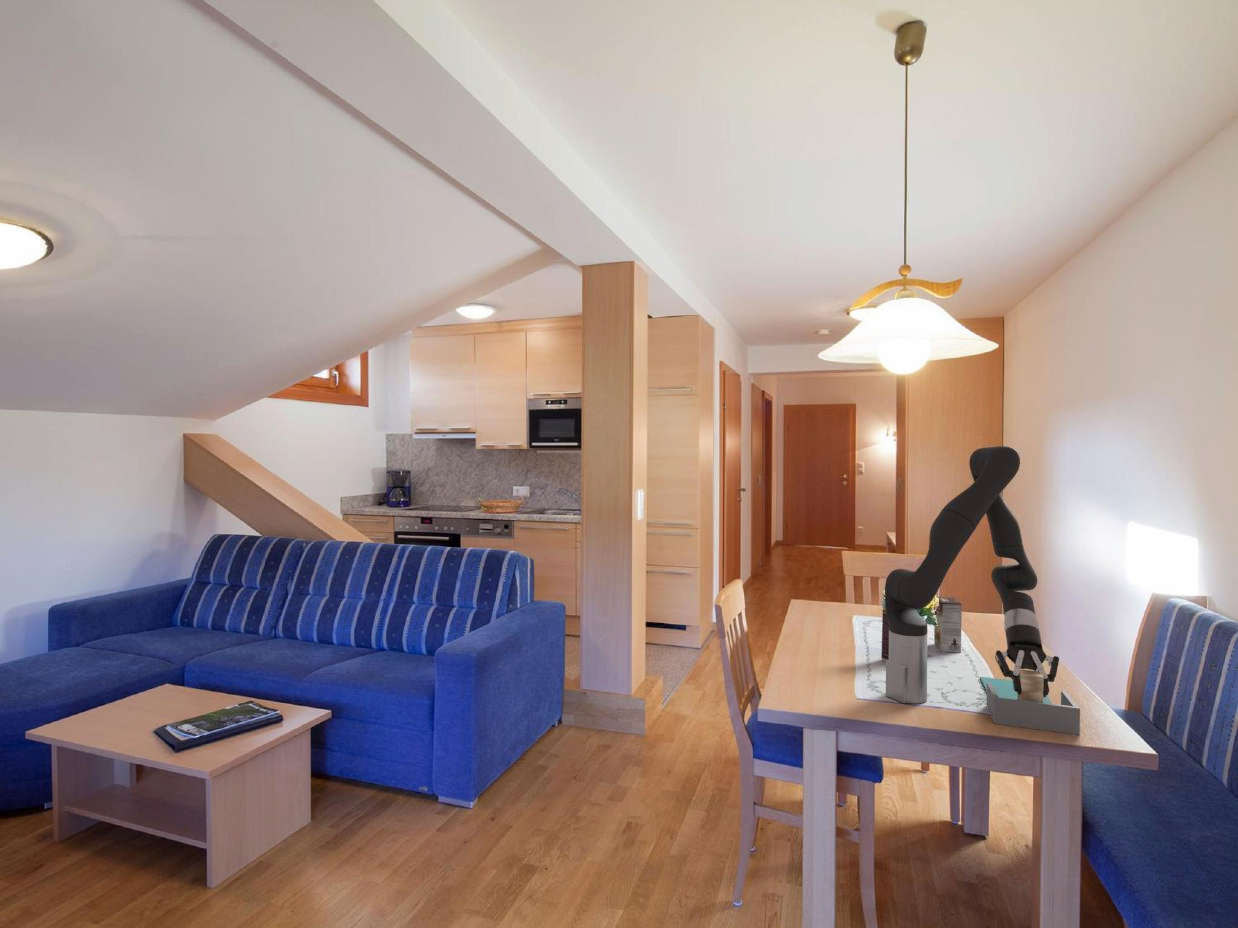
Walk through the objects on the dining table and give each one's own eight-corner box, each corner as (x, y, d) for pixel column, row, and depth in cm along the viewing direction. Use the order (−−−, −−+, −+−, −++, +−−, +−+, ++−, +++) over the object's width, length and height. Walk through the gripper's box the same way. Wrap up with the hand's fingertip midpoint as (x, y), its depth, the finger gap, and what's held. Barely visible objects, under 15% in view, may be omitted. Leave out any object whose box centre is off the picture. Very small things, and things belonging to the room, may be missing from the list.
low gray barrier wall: (994, 723, 155) (994, 698, 155) (986, 705, 166) (986, 682, 166) (1079, 734, 149) (1080, 708, 149) (1065, 715, 160) (1065, 690, 160)
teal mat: (990, 700, 170) (990, 698, 170) (980, 678, 187) (980, 676, 187) (1053, 708, 165) (1053, 705, 165) (1037, 685, 182) (1037, 682, 182)
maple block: (1021, 708, 157) (1021, 674, 157) (1017, 701, 161) (1017, 669, 161) (1043, 710, 155) (1043, 677, 155) (1038, 704, 159) (1039, 671, 159)
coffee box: (933, 643, 222) (933, 596, 222) (953, 644, 221) (954, 597, 220) (940, 651, 213) (941, 602, 213) (962, 652, 212) (962, 603, 211)
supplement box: (891, 664, 199) (891, 612, 199) (880, 659, 204) (881, 608, 204) (915, 662, 201) (915, 610, 201) (904, 657, 206) (904, 607, 206)
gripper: (992, 620, 167) (999, 682, 156) (1057, 625, 162) (1070, 690, 151) (988, 636, 172) (995, 697, 161) (1052, 641, 167) (1064, 705, 156)
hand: (1032, 693), depth 156 cm, fingers closed on maple block, 4 cm apart
